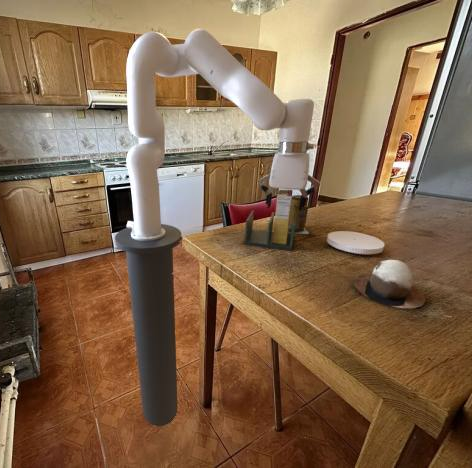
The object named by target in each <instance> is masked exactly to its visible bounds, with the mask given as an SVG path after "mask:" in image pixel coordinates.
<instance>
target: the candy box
mask: <svg viewBox="0 0 472 468" xmlns="http://www.w3.org/2000/svg"><path fill="white" fill-rule="evenodd" d="M293 190H294V189H278V193H277V194H276V195H277V196H276V205H275V212H274V222H273V232H274V233H273V243H276V244H284V245H286V243H287V236H288V234H289V233H288V228H289V220H290V211H291V202H292V196H293Z"/></svg>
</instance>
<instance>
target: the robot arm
mask: <svg viewBox="0 0 472 468" xmlns="http://www.w3.org/2000/svg"><path fill="white" fill-rule="evenodd" d="M125 69H126V73H125V74H126V90H127V91H126V92H127V95H126V97H127V124H128V129H129V132H130V133H131V135H132V136H134V137H135V138H138V143H136V144H134V145H132V147H130V148H129V150H128V152H127V154H126V169H127V172H128V177H129V183H130V191H131V201H132V213H133V220H127V223H126V227H125V228H132V232H131V237H132V238H133V239H135V240H139V241H153V240H157V239H160V238H162V237H164V236H165V234H166V233H165V230H164V229H163V228H161V224H162V221H161V218H162V217H161V197H160V184H159V176H158V171H157V170H158V169H159V168H161V166H162V164H163V163H164V160H165V153H166V151H165V150H166V149H165V148H166V143H165V142H166V137H165V136H166V135H165V133H166V128H165V119H164V117H163V114H162V113H161V112H160V111H159V110H158V109H157V103H156V101H157V100H156V98H157V97H156V95H157V90H156V81H155V80H156V79H155V75H157V76H160V77H163V78H176V77H184V76H185V77H186V76H194V75H200V77H201V78H203V80H204V81H206V82H207V83H208V85H210V86H211V87H212V88H213V89H214V90H215V91H216V92H217V93H218V94H219V95H221V96H222V97H223V98H225V99H227V100H229V101H231V102H232V103H233V104H234V105H236V106H237V107H238V108H239V109H240V110H241V111H242V112H243V113H244V114H246V116H248V117H249V119H251V121H252V123H253V125H254V127H255V128H257V129H258V130H259V131H272V130H275V129H279V138H278V147H277V152H276V153H274V156H273V159H272V163H271V168H270V173H268V174H267V175H265V176H263V177H261V178H259V179H258V181H257V182H258V185H259V187H260V188H261V190H262V191H263V192H264V194H265V195H266V197H265V205H267V207H266V208H267V209H270V208H271V206H272V201H273V193H272V192H273V191H274V190H275V189H278V190H298V191H299V192H300V195H301V197H300V203H299V210H300V211H301V209H302V207H305V201H306V197H309V196H310V195H311V194H312V193H314V192H315V191H316V190H317V189H318V188H319V187H320V186H321V182H320V181H319V180H317V179H316V178H314V177H313V176H312V175H310V174H309V173H310V172H309V171H310V161H311V159H310V153H309V152H308V151H309V150H314V147H315V144H314V143H310V142H309V141H310V134H311V129H312V128H311V127H312V122H313V115H314V109H315V102H314V100H312V99H311V98H298V99H291V100H288V101H286V102H283V101H282V100H281V98H280V97H279V96H277V94H275V93H274V91H272V90H271V88H269V86H267V84H265V83H264V82H263V81H262V80H261V79H260V78H258V77H257V76H256V75H255V74H254V73H252V72H251V71H250V70H249V69H248V68H247V67H246V66H244V65H243V64H242V63H241V62H240V61H239V60H238V59H236V57H235V56H233V55H232V54H231V52H229V51H228V49H226V47H224V46H223V44H221V43H220V42H219V41H218V40H217V39H216V38H215V36H213V35H212V34H211V33H210V32H209V31H208V30H205V29H203V28H196V29H194V30H192V31H190V33H189V34H188V36H186V38H185V40H184V42H183V43H178V44H172V43H171V42H170V40H169V39H168V38H167V37H166V36H165V35H164V34H162V33H160V32H158V31H148V32H145V33H144V34H142V35H140V36H139V37H138V38H137V39H136V40H135V41H134V42H133V44H132V45H131V48H130V49H129V52H128V55H127V59H126V66H125ZM267 181H269V182H268V183H269V184H268V185H269V187H268V185H266V184H265V182H267ZM308 182H310V183H311V184H312V185H311V187H309V188H308V189H306V188H307V184H308Z"/></svg>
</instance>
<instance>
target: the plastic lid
mask: <svg viewBox="0 0 472 468" xmlns="http://www.w3.org/2000/svg"><path fill="white" fill-rule="evenodd" d="M326 243H328V245H330V246H331V247H333V248H335V249H338V250H341V251H344V252H348V253H352V254H358V255H377V254H380V253H383V252H384V249H385V246H386V245H385V242H384V241H383V240H382V239H379V238H377V237H375V236H373V235H369V234H366V233H362V232H357V231H348V230H338V231H331V232H329V233H328V234H327V235H326Z"/></svg>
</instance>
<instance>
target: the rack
mask: <svg viewBox="0 0 472 468" xmlns="http://www.w3.org/2000/svg"><path fill="white" fill-rule="evenodd" d="M254 217H255V210H251V212H250V213H249V215H248V217H247V219H246V220H245V229H244V240H243V241H244V242H243V244H244V245H249V246H256V247H263V248H267V249H268V248H269V249H275V250H283V251H290V252H291V251H292V249H293V242H294V236H295V233H294V230H295V222H296V214H294V218H293V224H292V231H291V233H288V236H287V243H286V245H284V244H276V243H273V233H274V231H273V229H274V221H275V212H274V211H272V212H271V215H270V218H269V220H268V225H267V230H261V229H255V228H254V229H253V226H254Z"/></svg>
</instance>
